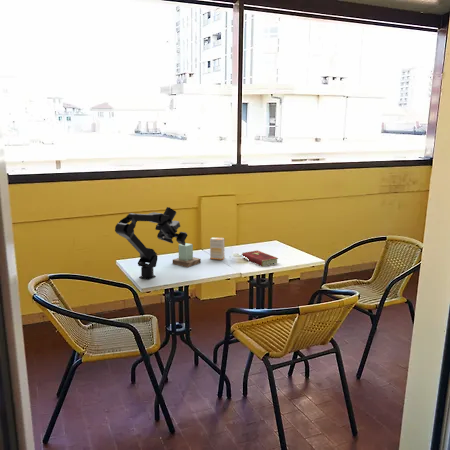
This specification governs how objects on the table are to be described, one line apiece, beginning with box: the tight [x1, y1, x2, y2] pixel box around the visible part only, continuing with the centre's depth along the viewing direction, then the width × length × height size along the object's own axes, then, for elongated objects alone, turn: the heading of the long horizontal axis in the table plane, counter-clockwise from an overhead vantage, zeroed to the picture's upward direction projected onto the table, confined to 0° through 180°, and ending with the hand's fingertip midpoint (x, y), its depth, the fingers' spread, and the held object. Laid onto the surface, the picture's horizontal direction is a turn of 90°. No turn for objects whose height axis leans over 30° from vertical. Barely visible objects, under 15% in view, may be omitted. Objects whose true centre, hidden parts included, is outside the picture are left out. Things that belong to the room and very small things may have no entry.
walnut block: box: [172, 256, 202, 268], centre depth 276 cm, size 12×12×3 cm
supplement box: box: [209, 236, 226, 261], centre depth 285 cm, size 8×5×13 cm, turn 74°
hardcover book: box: [241, 250, 279, 267], centre depth 282 cm, size 12×21×4 cm, turn 32°
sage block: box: [178, 242, 194, 261], centre depth 275 cm, size 6×6×9 cm
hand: (178, 243), depth 268 cm, fingers open, 9 cm apart
